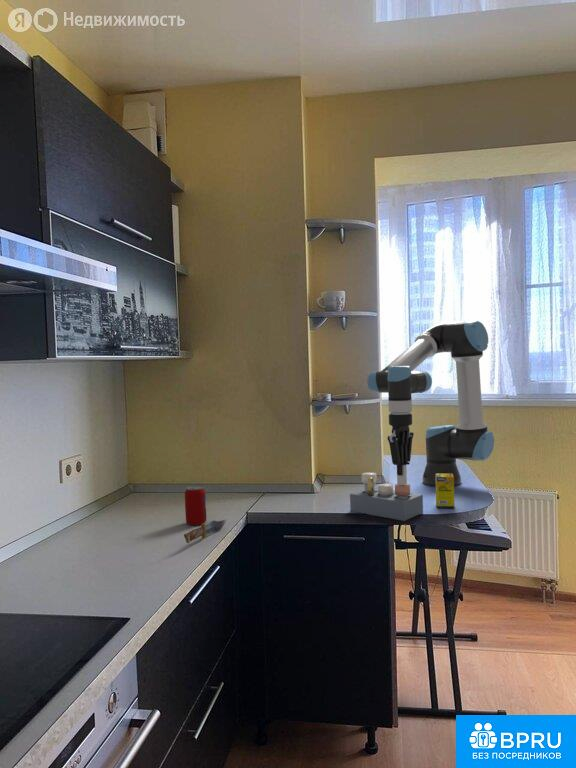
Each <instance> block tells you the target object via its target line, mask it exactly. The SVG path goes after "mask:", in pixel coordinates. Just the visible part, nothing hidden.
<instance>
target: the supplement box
mask: <svg viewBox="0 0 576 768" xmlns="http://www.w3.org/2000/svg"><path fill="white" fill-rule="evenodd" d="M435 480H436V486H435V504H436V509H456V508H455V485H454V476H453V474H435Z"/></svg>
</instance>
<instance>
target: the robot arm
mask: <svg viewBox="0 0 576 768" xmlns="http://www.w3.org/2000/svg"><path fill="white" fill-rule="evenodd" d="M488 344H489V334H488V330H487V329H486V327H485V326H484V324H483V323H482V322H481V321H479V320H469V319H468V320H462V321H451V322H450V321H449V322H441V323H438V324H435V325H433V326H431V327H430V328H427V329H426V330H424V331H423V332H421V333H420V334H419V335H418V336H417V337H416V338H415V339H414V343H412V344H411V345H410V346H408V348H407V349H406V350H404V351H403V352H402V353H401V354H399V355H398V356H397V357H396V358H395V359H394V360H392V361H391V362H390V363H388V364H387V366H385V368H383V369H382V370H380V371H378V370H376V371H371V372H370V373H369V374H368V375H367V380H366V381H367V382H366V384H367V388H368V389H369V391H370V392H373V393H378V394H382V393H388V396H387V397H388V399H387V400H388V403H387V404H388V405H387V406H388V412H389V414H388V425H389V426H391V427H392V429H391V435H388V436H387V441H388V445H389V450H390V455H391V462H392V464H393V465H394V466H396V481H397V482H396V484H398V485H407V484H408V481H407V480H408V478H407V477H408V476H407V472H408V471H407V466H409V465H410V462H411V459H412V458H411V457H412V456H411V454H412V447H413V438H414V433H415V432H412V431H410V426H412V425H413V414H412V413H411V412H413V404H412V402H413V401H412V394H423V393H425V392H428V391H429V390H430V389H431V387H432V384H433V378H432V376H431V374H430V373H428V372H427V371H425V370H416V369H417V368H418V367H419V366H420V365H421V364H422V363H423V362H424V361H425V360H426V359H427V358H431V357H434V356H435V355H436V354H440V353H450V356H451V359H452V360H454V361H455V369H456V383H457V384H456V385H457V388H456V389H457V400H458V401H457V402H458V418H459V423H458V424H456V425H455V424H447V425H445V424H444V425H437V426H431V427H428V428H427V429H426V431H425V450H426V451H425V454H426V455H425V457H426V464H425V467H424V471H423V475H422V483H423V484H425V485H427V486H428V485H429V486H433V487H436V480H435V474H453V476H454V486H457V485H460V484H461V483H462V477H461V474H460V470H459V468H458V466H457V459H460V460H468V461H474V462H476V461H479V462H480V461H482V462H484V461H487V460H488V459H489V458H490V457H491V455H492V453H493V450H494V447H495V436H494V433H493V432H492V431H490V430H488V425H487V424H486V422H484V421H483V405H482V386H481V372H480V359H481V358H482V357H483V356H484V354H483V353H484V352H485V351H486V350H487V349H488V346H489V345H488Z"/></svg>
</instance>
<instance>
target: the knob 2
mask: <svg viewBox="0 0 576 768" xmlns="http://www.w3.org/2000/svg"><path fill="white" fill-rule="evenodd" d="M377 488H378V494H379V495H381V496H390V495H393V490H394V485H393V484H391V483H380V484H378V485H377Z"/></svg>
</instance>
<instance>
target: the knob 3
mask: <svg viewBox="0 0 576 768" xmlns="http://www.w3.org/2000/svg"><path fill="white" fill-rule="evenodd" d="M394 491H395V495H397V496H398V498H402V499H406V498H408V495H410V493H411V484H409V483H407V485H398V484H397V483H395V484H394Z"/></svg>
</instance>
